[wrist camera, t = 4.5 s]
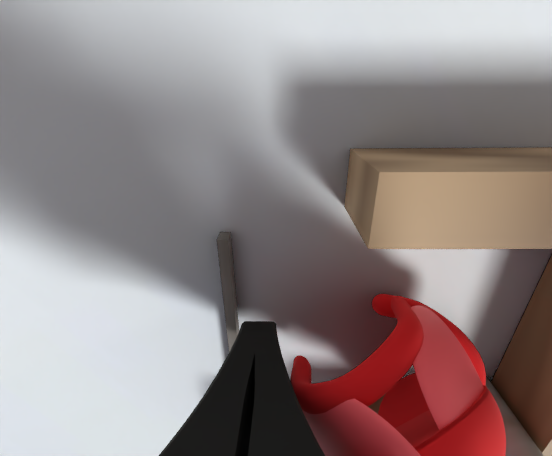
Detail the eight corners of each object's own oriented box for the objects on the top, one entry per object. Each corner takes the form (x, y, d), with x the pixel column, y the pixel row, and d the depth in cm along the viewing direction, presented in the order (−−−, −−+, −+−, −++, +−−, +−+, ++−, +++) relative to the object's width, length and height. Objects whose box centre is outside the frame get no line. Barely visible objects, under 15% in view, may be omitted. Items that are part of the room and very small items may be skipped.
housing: (245, 474, 18) (234, 586, 14) (211, 149, 9) (157, 194, 5) (478, 477, 18) (537, 592, 14) (667, 146, 9) (985, 191, 5)
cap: (220, 437, 8) (344, 640, 8) (403, 381, 5) (639, 709, 5) (317, 311, 15) (387, 411, 14) (421, 255, 12) (516, 378, 11)
